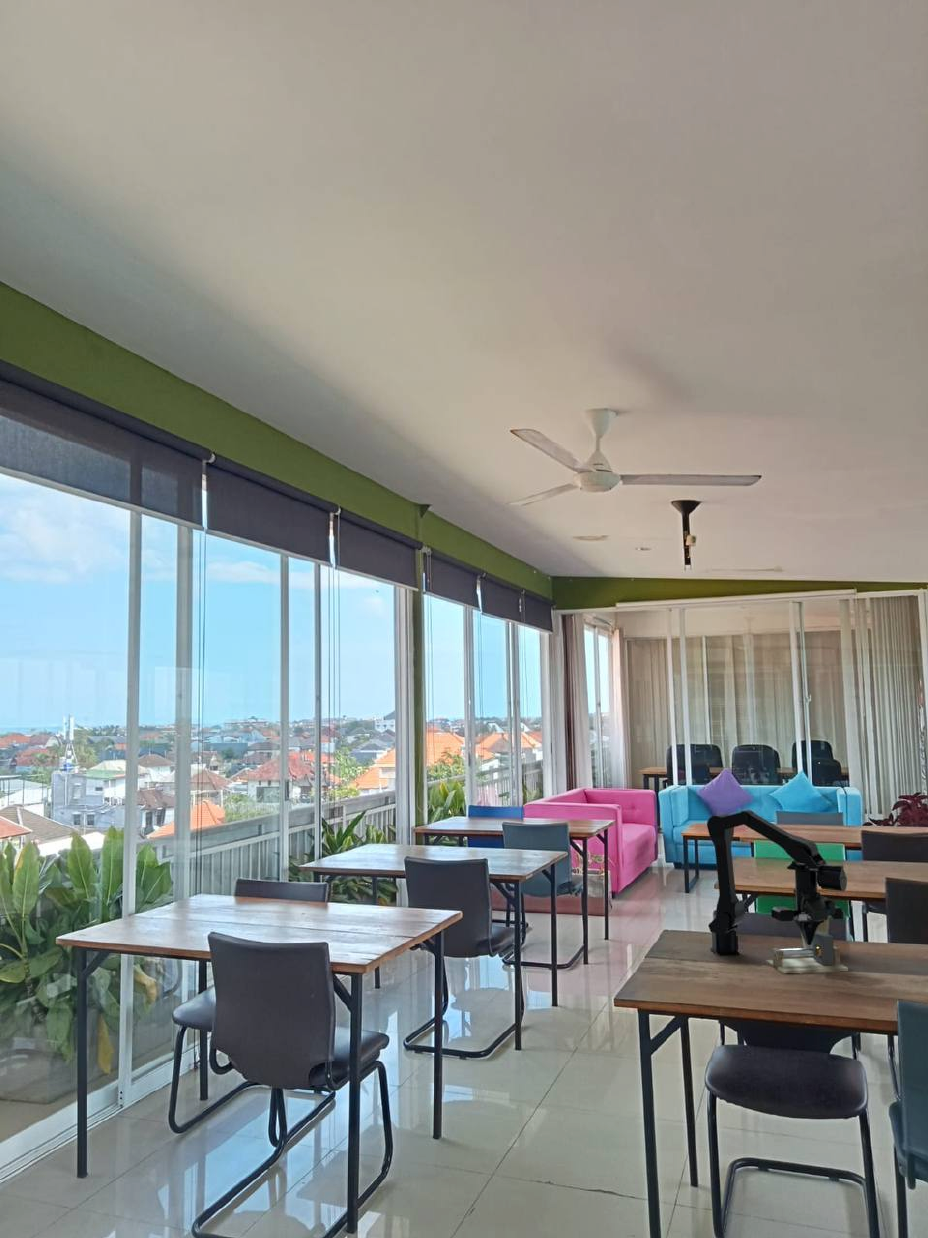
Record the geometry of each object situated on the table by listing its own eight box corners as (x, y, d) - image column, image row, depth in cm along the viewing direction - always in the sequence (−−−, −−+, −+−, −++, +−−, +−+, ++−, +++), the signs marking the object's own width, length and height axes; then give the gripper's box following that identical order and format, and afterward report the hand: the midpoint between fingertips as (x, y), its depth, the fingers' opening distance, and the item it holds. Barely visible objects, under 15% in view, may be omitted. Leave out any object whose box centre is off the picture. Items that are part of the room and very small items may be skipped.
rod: (777, 959, 250) (776, 950, 251) (773, 956, 253) (772, 947, 253) (839, 956, 253) (838, 947, 253) (834, 954, 255) (834, 945, 255)
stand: (784, 974, 246) (784, 955, 246) (766, 963, 257) (765, 944, 257) (847, 971, 248) (846, 952, 248) (827, 960, 259) (826, 942, 259)
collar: (824, 965, 250) (822, 937, 251) (813, 959, 256) (811, 931, 257) (834, 964, 250) (833, 936, 251) (823, 958, 256) (821, 931, 257)
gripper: (788, 894, 245) (790, 954, 244) (853, 891, 248) (856, 951, 246) (769, 886, 256) (771, 943, 255) (832, 884, 259) (834, 940, 257)
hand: (808, 944), depth 253 cm, fingers closed
